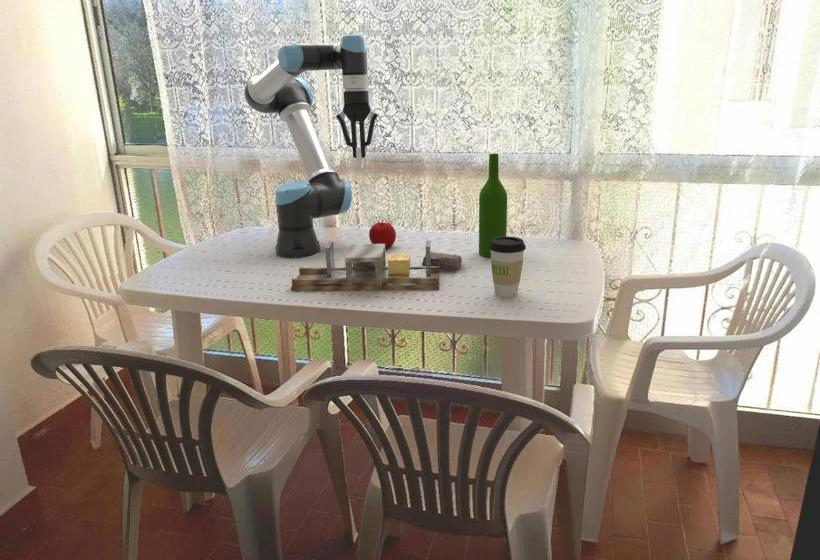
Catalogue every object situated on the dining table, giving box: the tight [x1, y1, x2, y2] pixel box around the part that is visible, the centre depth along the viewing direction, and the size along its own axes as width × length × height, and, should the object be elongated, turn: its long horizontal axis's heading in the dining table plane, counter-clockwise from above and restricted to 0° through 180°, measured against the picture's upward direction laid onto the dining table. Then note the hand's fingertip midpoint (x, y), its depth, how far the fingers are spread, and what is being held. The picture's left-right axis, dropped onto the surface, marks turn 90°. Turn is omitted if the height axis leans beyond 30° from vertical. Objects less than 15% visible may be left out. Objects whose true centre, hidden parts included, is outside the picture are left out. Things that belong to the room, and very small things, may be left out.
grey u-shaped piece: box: [324, 239, 432, 278], centre depth 182 cm, size 30×8×10 cm, turn 87°
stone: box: [421, 251, 463, 272], centre depth 195 cm, size 9×12×5 cm
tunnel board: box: [290, 243, 440, 292], centre depth 183 cm, size 42×14×10 cm, turn 87°
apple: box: [368, 219, 397, 249], centre depth 217 cm, size 9×9×10 cm
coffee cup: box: [489, 235, 527, 298], centre depth 170 cm, size 10×10×15 cm
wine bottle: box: [478, 153, 508, 259], centre depth 201 cm, size 9×9×32 cm
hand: (360, 168), depth 197 cm, fingers closed
